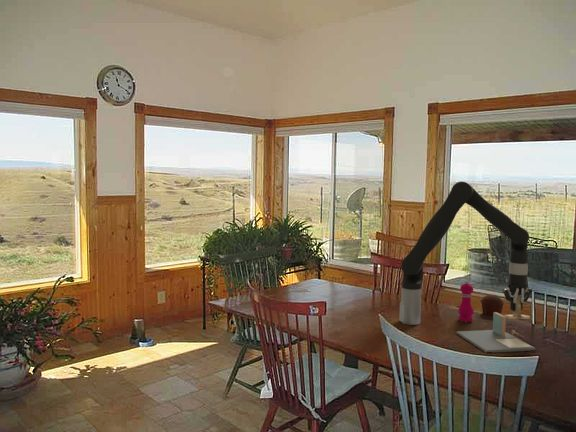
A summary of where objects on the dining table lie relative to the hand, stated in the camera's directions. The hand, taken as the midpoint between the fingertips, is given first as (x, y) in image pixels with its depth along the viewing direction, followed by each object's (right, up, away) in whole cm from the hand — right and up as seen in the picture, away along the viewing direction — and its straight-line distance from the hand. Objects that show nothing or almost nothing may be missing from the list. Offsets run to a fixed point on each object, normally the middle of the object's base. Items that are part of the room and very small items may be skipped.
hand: (516, 310), depth 213 cm
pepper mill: (-14, -10, +24) cm, 29 cm away
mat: (-13, -12, -7) cm, 19 cm away
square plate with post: (0, -3, -1) cm, 3 cm away
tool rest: (-7, -11, -12) cm, 18 cm away
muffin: (+4, -9, +35) cm, 36 cm away
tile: (-8, -11, 0) cm, 13 cm away
